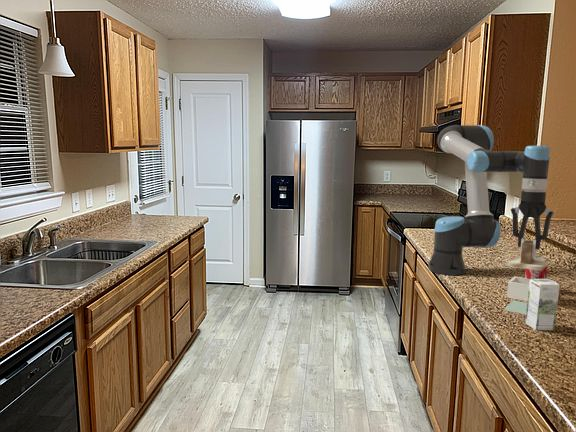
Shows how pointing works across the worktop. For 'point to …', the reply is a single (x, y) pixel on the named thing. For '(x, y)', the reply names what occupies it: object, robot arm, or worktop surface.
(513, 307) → the mat
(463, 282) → the worktop surface
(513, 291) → the dish
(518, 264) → the lid
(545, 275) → the soda can
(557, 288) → the syrup box
